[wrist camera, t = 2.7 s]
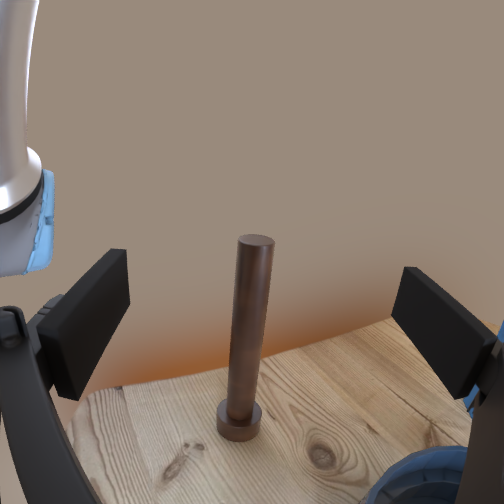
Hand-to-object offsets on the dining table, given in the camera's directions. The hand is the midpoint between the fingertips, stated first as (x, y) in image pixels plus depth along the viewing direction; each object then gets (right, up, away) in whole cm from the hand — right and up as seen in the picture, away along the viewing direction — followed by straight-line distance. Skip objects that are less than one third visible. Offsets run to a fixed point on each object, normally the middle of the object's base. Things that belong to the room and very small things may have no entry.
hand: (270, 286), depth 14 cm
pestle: (-2, -16, +15) cm, 22 cm away
